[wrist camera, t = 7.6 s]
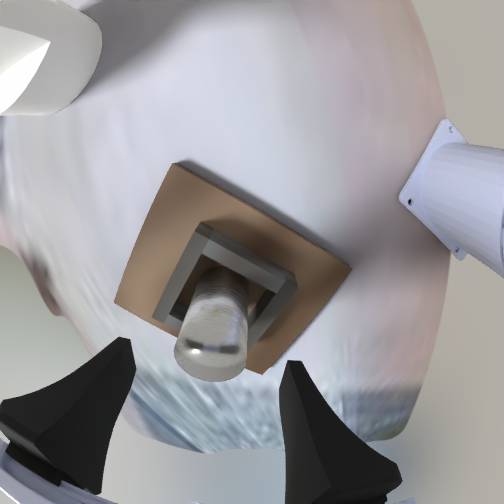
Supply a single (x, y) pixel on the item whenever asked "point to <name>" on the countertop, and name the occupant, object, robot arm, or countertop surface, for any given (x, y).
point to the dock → (226, 264)
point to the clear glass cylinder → (215, 327)
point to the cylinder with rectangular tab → (44, 55)
